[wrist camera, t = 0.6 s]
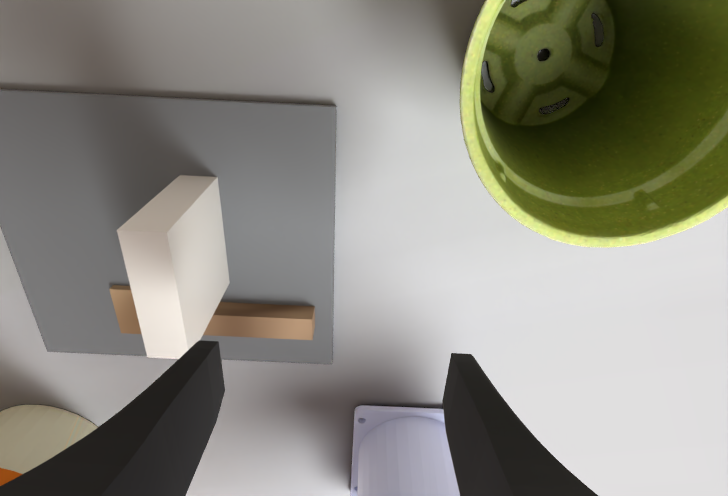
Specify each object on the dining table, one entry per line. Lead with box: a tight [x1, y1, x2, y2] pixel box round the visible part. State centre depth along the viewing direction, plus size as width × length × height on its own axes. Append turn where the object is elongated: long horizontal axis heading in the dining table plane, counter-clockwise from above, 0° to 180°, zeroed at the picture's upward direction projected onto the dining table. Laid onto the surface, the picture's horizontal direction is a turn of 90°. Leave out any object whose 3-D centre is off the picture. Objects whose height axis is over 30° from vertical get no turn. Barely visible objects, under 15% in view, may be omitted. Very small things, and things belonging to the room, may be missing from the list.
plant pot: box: [460, 0, 728, 247], centre depth 15 cm, size 9×9×9 cm
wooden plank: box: [109, 285, 315, 340], centre depth 25 cm, size 11×3×1 cm, turn 87°
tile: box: [117, 175, 230, 359], centre depth 20 cm, size 6×2×6 cm, turn 177°
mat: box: [0, 89, 336, 364], centre depth 23 cm, size 15×17×1 cm
